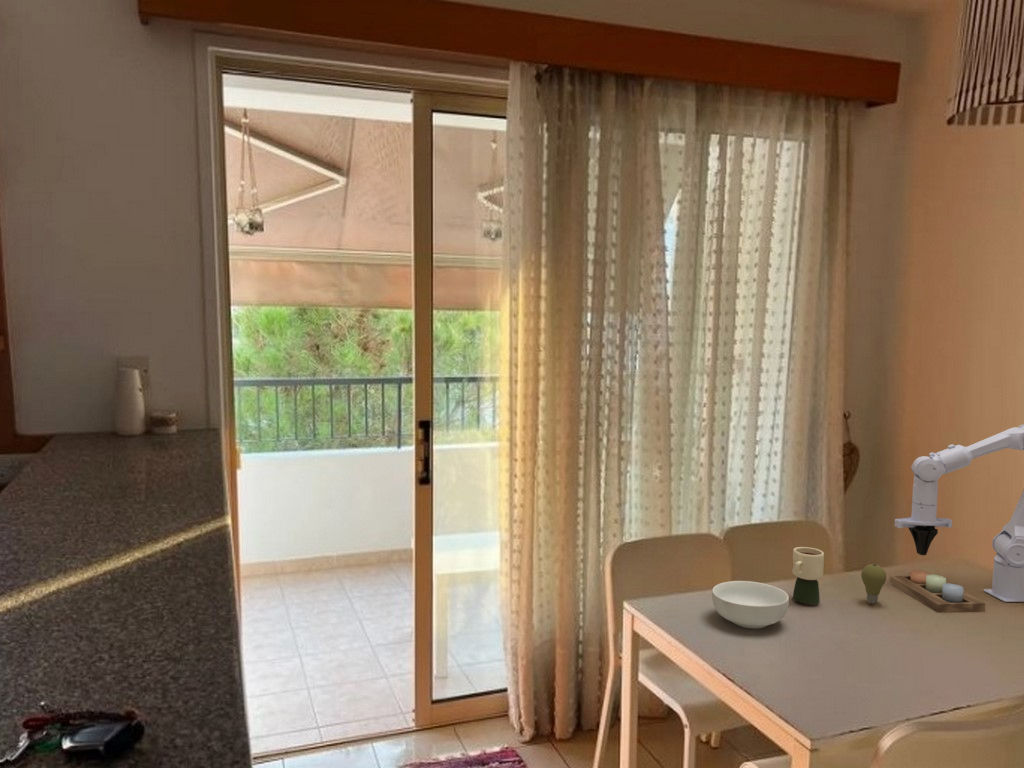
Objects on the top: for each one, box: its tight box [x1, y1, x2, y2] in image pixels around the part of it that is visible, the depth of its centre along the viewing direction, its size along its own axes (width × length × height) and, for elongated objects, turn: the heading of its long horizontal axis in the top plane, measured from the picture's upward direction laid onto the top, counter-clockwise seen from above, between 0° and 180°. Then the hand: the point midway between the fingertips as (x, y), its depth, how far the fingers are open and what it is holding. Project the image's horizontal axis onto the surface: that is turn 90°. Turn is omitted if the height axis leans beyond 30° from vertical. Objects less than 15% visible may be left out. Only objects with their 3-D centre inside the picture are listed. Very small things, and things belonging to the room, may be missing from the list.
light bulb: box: [860, 563, 887, 606], centre depth 188 cm, size 6×6×10 cm
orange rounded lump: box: [909, 569, 931, 584], centre depth 200 cm, size 4×4×4 cm
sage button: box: [926, 574, 947, 593], centre depth 193 cm, size 4×4×4 cm
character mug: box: [791, 546, 825, 605], centre depth 188 cm, size 11×7×13 cm, turn 129°
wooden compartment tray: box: [889, 575, 986, 613], centre depth 193 cm, size 12×20×2 cm, turn 5°
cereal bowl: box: [711, 580, 790, 629], centre depth 176 cm, size 17×17×7 cm
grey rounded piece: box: [942, 582, 964, 603], centre depth 187 cm, size 4×4×4 cm
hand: (921, 554), depth 199 cm, fingers closed
